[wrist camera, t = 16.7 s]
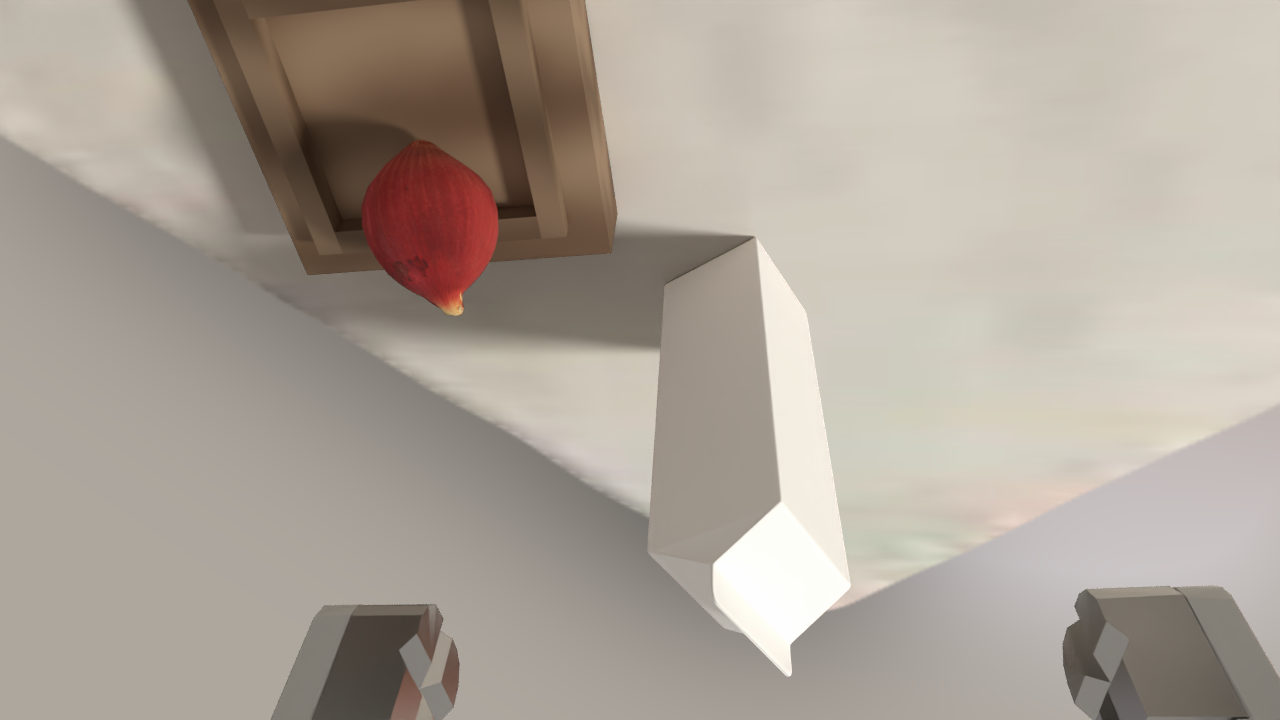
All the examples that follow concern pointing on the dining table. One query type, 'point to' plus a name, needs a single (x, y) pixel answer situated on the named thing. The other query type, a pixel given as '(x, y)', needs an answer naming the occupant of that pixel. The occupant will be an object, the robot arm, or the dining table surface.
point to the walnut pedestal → (419, 112)
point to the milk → (744, 455)
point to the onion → (430, 223)
